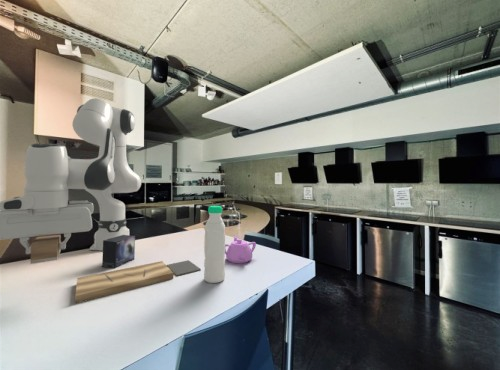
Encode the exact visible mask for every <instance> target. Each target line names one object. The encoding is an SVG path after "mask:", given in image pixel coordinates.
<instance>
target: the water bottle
mask: <svg viewBox="0 0 500 370" xmlns="http://www.w3.org/2000/svg"><path fill="white" fill-rule="evenodd" d="M207 213H208V215H209V217H208V219H207V221H206V223H205V226H204V243H203V244H204V247H203V248H204V262H203V267H204V271H203V279H204V281H205V282H206V283H208V284H209V283H210V284H217V283H221V282H223V281H224V280H225V278H226V269H225V266H226V259H225V258H226V254H225V249H226V247H225V244H226V232H225V231H226V225H225V222H224V221H223V218H222V214H223V207H222V206H221V205H210V206H208V208H207Z"/></svg>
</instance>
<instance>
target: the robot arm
mask: <svg viewBox="0 0 500 370" xmlns="http://www.w3.org/2000/svg"><path fill="white" fill-rule="evenodd" d="M72 119H73V120H72V129H73V131H74V133H75V134H76V135H77V136H78V137H79V138H80V139H82V140H83V141H84V142H87V143H89V144H92V145H96V146H99V151H98V156H97V157H95V158H90V159H88V158H87V159H85V158H83V159H82V158H71V157H70V156H69V155H68V151H67V147H66V146H65V145H64V144H63V145H62V144H59V143H42V142H41V143H33V144H30V145H29V146H28V148H27V150H26V154H25V160H24V176H25V179H26V184H25V187H24V192H23V196H15V197H13V198H10V199H5V200H2V201H0V241H1V240H12V239H13V240H14V239H19V243H20V245H22V247H24V248H25V255H31V243H29V240H30V238H31V237H32V238H33V237H42V236H52V235H61V234H63V238H64V240H63V241H61V242H60V243H59V250H62V251H63V250H66V247H67V242H68V241H69V239H70V238H71V236H72V233H73V234H75V233H85V232H90V231H91V230H92V229H93V219H92V214H94V210H95V206H94V204H93V202H91V201H88V200H84V199H83V200H69V189H72V190H85V191H86V192H88V194H91V195H92V196H93V197H94V198H95V200H96V201H97V203H98V207H99V220H98V230H97V231H96V232H94V234H93V242H94V243H93V244H92V245H91V246H90V247H89V251H102V252H103V240H106V239H110V238H114V237H117V236H121V235H130V229H129V228H128V227H127V219H126V204H125V203H124V202H123V201H121V200H119V199H116V198H114V197H113V196H112V194H129V193H134V192H138V191H139V190H140V188H141V186H142V180H141V177H140V176H139V175H138V173H136V172H134V170H133V169H132V168H131V167H130V165H129V163H128V160H127V159H128V158H127V137H126V135H128V134H129V133H132V132H133V131H134V129H135V126H136V119H135V116H134V113H133V112H132V111H130V110H128V109H125V108H123V109H121V108H118V107H115V106H111V105H110V103H108V102H107V101H105V100H104V99H101V98H98V97H97V98H90V99H89V100H87V101H86V102H85V103H83V104H81V105H80V106H78V107H77V110H76V114H75V115H74V118H72Z"/></svg>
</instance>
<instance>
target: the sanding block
mask: <svg viewBox="0 0 500 370" xmlns="http://www.w3.org/2000/svg"><path fill="white" fill-rule="evenodd" d="M61 238H62V236H61V234H54V235H44V236H36V238H35V239H34V240H33V241H32V242H31V243H30V246H31V254H30V265H32V264H39V263H46V262H51V261H52V262H53V261H58V259H59V256H60V254H61V250H59V243H60V242H62V240H61Z"/></svg>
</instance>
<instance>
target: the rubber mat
mask: <svg viewBox="0 0 500 370" xmlns="http://www.w3.org/2000/svg"><path fill="white" fill-rule="evenodd" d="M166 266H167V267H168V268H169V269H170V270H171V271H172V272H173V273H174V276H176V277H179V276H185V275H187V274H191V273H196V272H200V271H201V270H202V269H201V268H200V267H199V266H197V265H196V264H195V263H193V262H192V261H190V260H183V261H179V262H173V263H169V264H166Z"/></svg>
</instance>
